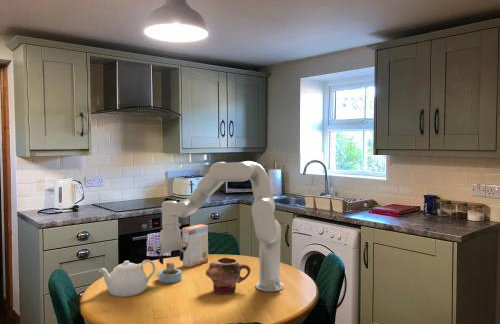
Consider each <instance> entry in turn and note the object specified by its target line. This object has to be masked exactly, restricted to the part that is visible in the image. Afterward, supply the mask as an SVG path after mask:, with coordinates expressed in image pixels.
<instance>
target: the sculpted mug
mask: <svg viewBox="0 0 500 324" xmlns="http://www.w3.org/2000/svg"><path fill="white" fill-rule="evenodd" d="M242 269H245V270H246V271H247V273H246V274H245V276H241V271H242ZM250 274H251V267H250V266H249V265H248V264H245V263H239V261H238V260H237V259H234V258H231V257H221V258H218V259H215V260H213V261H211V262H210V264H209V266H208V267H207V269H206V271H205V275H206V276H207V277H208V278H209V279H210V280H211V281H212V283H213V284H212V285H213V292H214V293H216V294H218V295H231V294H234V293H235V291H236V289H237V284H240V283H242V282H244V281H245V280H246V279H247V278H248V277H249V276H250Z"/></svg>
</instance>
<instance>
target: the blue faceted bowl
mask: <svg viewBox="0 0 500 324" xmlns="http://www.w3.org/2000/svg"><path fill="white" fill-rule="evenodd" d="M157 273H158V277H157V278H158V282H159V283H160V284H167V285H170V284H172V285H173V284H176V283H179V282H181V281H182V278H183V271H182V270H181V269H180V268H174V274H167V268H164V269H161V270H159V271H158V272H157Z"/></svg>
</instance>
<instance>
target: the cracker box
mask: <svg viewBox="0 0 500 324" xmlns="http://www.w3.org/2000/svg"><path fill="white" fill-rule="evenodd" d="M208 231H209V226H208V224H202V223H199V224H196V225H190V226H185V227H182V231H181V233H182V240H183V241H186V242H188V243H189V244H188V247H187V249H186V250H185V251H184V259H183V261H182V266H183V267H186V268H193V267H196V266H199V265H200V266H201V265H202V264H205V263H208V262H209V240H208V239H209V236H208V235H209V232H208ZM184 245H185V244H183V243H182V248H183V247H184Z"/></svg>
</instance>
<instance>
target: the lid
mask: <svg viewBox="0 0 500 324" xmlns="http://www.w3.org/2000/svg"><path fill="white" fill-rule="evenodd" d="M166 269H167V274H174V269H175V263H174V262H167V263H166Z"/></svg>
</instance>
